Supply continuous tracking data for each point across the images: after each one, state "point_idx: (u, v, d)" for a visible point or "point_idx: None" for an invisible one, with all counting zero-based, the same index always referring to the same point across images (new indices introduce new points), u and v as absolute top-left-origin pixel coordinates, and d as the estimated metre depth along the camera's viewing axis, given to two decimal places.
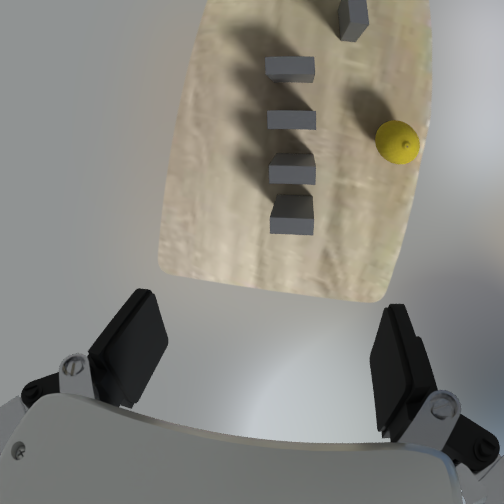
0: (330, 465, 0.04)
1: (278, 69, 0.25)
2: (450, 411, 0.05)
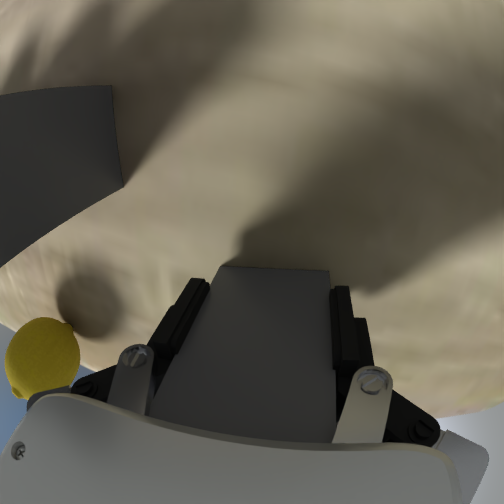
0: (330, 465, 0.04)
1: None
2: (381, 384, 0.07)
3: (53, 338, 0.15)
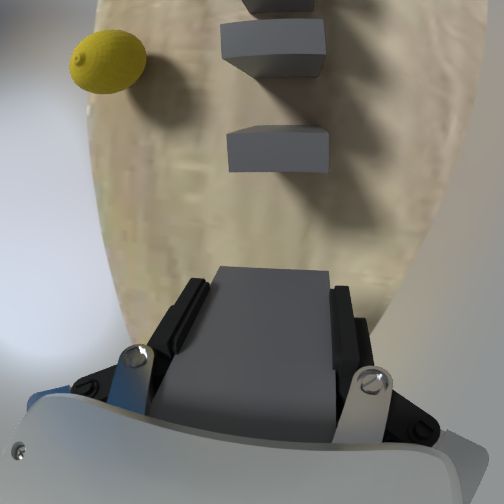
0: (330, 465, 0.04)
1: (301, 142, 0.13)
2: (381, 384, 0.07)
3: (135, 78, 0.18)
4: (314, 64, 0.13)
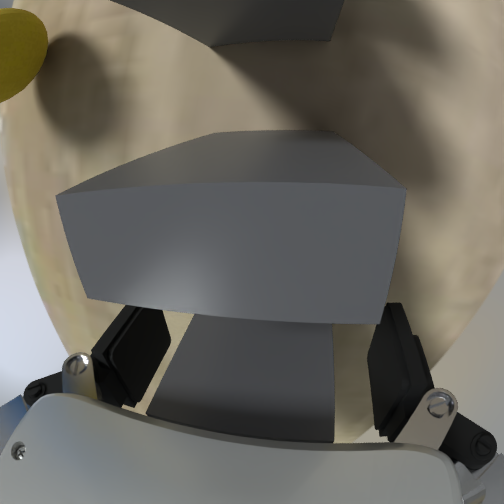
0: (330, 465, 0.04)
1: (292, 225, 0.03)
2: (446, 409, 0.05)
3: (23, 74, 0.08)
4: None
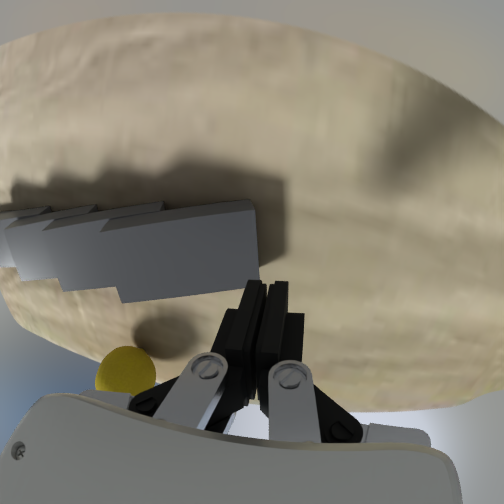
0: (330, 465, 0.04)
1: None
2: (300, 376, 0.07)
3: (140, 363, 0.23)
4: (28, 229, 0.17)
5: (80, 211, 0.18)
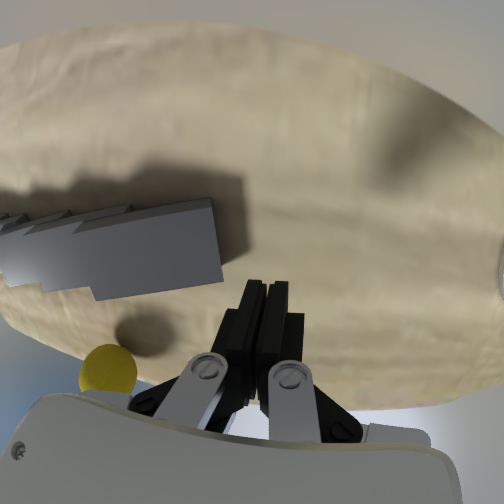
0: (330, 465, 0.04)
1: None
2: (300, 376, 0.07)
3: (121, 360, 0.23)
4: (11, 238, 0.18)
5: (54, 217, 0.19)
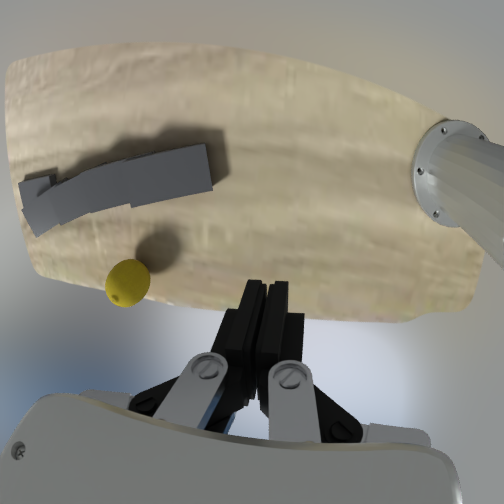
0: (329, 465, 0.04)
1: None
2: (300, 376, 0.07)
3: (139, 267, 0.34)
4: (64, 185, 0.30)
5: None
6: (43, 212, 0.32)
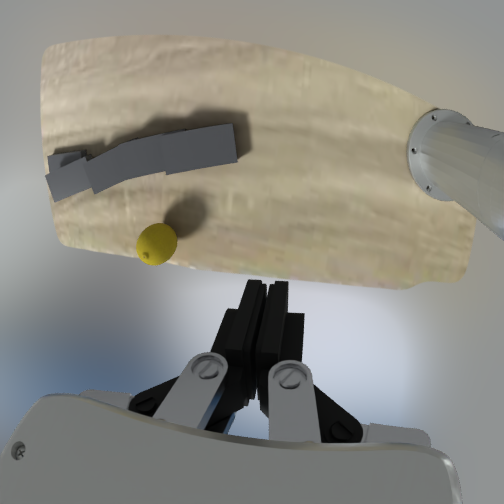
0: (330, 465, 0.04)
1: None
2: (300, 376, 0.07)
3: (169, 229, 0.39)
4: (99, 158, 0.35)
5: None
6: (65, 181, 0.37)
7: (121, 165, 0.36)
